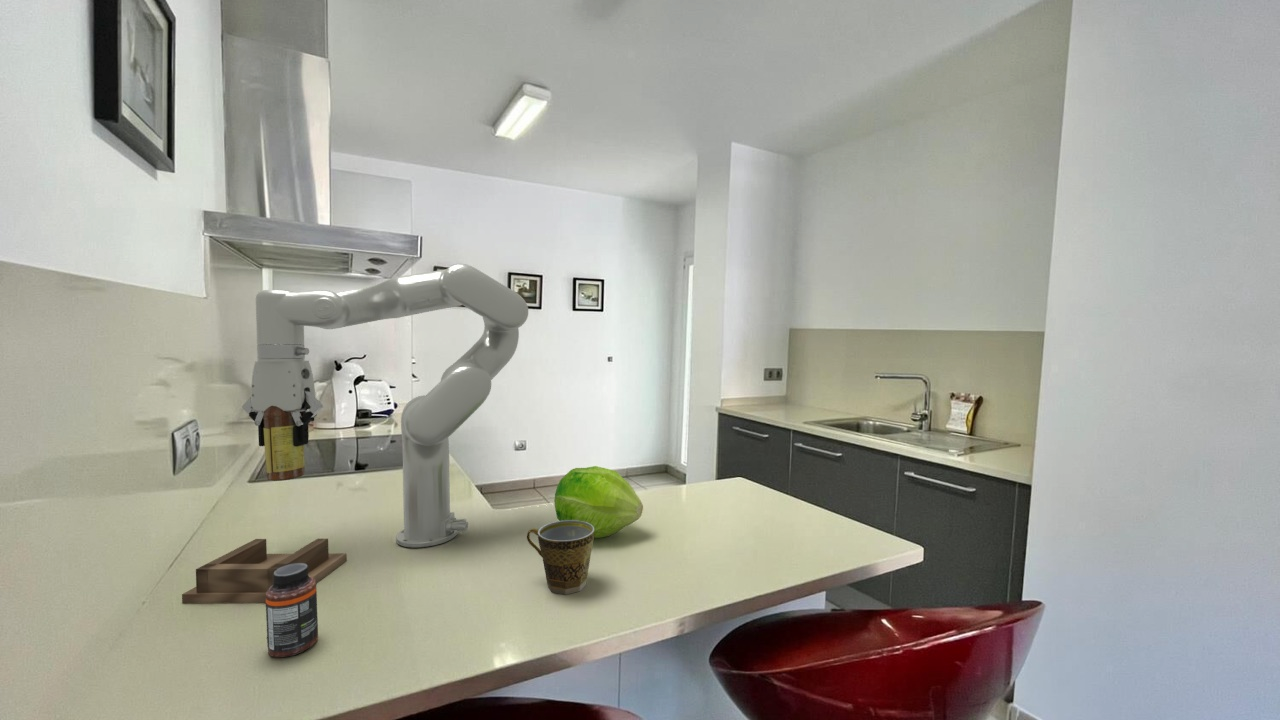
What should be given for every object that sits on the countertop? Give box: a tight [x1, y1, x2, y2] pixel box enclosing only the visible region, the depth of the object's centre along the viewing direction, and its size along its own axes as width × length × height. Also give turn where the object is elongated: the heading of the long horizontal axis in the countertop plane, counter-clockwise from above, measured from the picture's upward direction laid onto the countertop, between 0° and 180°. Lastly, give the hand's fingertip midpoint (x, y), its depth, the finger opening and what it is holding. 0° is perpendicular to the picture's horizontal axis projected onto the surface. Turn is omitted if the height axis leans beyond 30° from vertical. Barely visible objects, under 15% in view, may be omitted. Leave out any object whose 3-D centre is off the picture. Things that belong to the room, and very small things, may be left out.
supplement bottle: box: [265, 563, 319, 658], centre depth 70 cm, size 6×6×11 cm
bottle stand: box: [181, 538, 348, 604], centre depth 90 cm, size 18×16×6 cm
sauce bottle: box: [263, 406, 306, 482], centre depth 97 cm, size 7×6×20 cm
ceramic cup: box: [526, 520, 595, 596], centre depth 88 cm, size 13×10×10 cm
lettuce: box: [553, 465, 644, 539], centre depth 111 cm, size 17×20×15 cm
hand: (283, 444), depth 97 cm, fingers closed on sauce bottle, 6 cm apart
